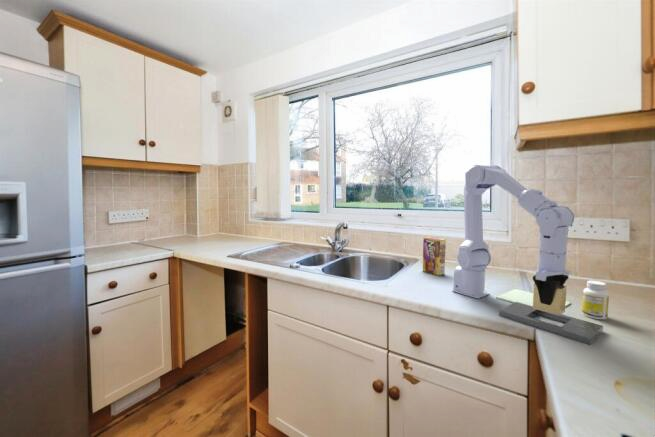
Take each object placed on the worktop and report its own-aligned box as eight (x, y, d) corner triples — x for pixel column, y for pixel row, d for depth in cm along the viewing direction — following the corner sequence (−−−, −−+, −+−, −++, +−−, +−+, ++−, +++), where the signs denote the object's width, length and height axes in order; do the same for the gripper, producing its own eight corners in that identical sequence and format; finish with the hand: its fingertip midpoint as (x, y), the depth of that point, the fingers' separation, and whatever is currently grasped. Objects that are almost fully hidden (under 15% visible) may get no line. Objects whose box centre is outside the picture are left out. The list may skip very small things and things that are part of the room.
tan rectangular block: (532, 308, 80) (534, 283, 80) (538, 304, 83) (540, 280, 82) (559, 315, 75) (561, 289, 75) (564, 312, 78) (566, 286, 77)
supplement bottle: (594, 311, 86) (597, 279, 85) (612, 319, 81) (615, 285, 80) (576, 312, 86) (579, 279, 85) (593, 320, 81) (596, 285, 80)
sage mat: (496, 298, 98) (496, 296, 98) (515, 289, 106) (515, 288, 106) (554, 314, 85) (554, 313, 85) (570, 303, 93) (570, 302, 93)
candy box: (445, 274, 126) (446, 239, 125) (438, 275, 124) (439, 240, 122) (428, 269, 133) (429, 236, 132) (422, 271, 131) (422, 237, 130)
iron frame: (499, 315, 84) (499, 310, 84) (516, 306, 91) (516, 301, 90) (589, 344, 68) (590, 338, 68) (602, 331, 74) (603, 325, 74)
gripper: (561, 258, 70) (557, 313, 71) (580, 251, 78) (576, 300, 80) (527, 253, 76) (524, 304, 77) (549, 247, 84) (545, 293, 85)
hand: (548, 301), depth 79 cm, fingers closed on tan rectangular block, 4 cm apart
